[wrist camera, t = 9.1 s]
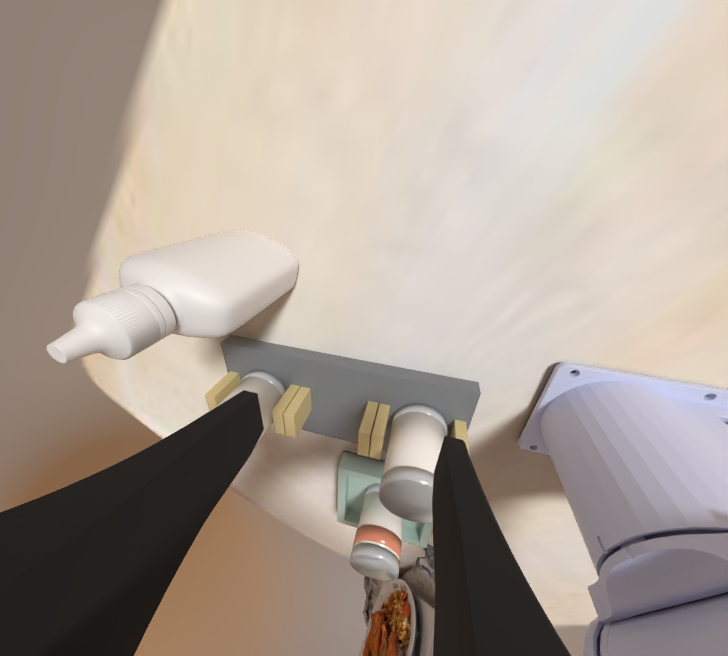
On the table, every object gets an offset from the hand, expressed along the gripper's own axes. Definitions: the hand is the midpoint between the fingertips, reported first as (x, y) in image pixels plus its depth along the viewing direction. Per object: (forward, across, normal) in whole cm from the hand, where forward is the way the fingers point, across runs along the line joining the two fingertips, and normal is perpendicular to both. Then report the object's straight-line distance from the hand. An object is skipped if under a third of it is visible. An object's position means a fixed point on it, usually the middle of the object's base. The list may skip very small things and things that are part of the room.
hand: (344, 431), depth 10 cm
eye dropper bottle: (+10, +9, -3) cm, 14 cm away
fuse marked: (+9, -2, +20) cm, 22 cm away
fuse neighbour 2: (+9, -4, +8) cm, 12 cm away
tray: (+10, -2, +20) cm, 22 cm away
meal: (+10, -5, +35) cm, 37 cm away
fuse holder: (+10, +3, +8) cm, 13 cm away
